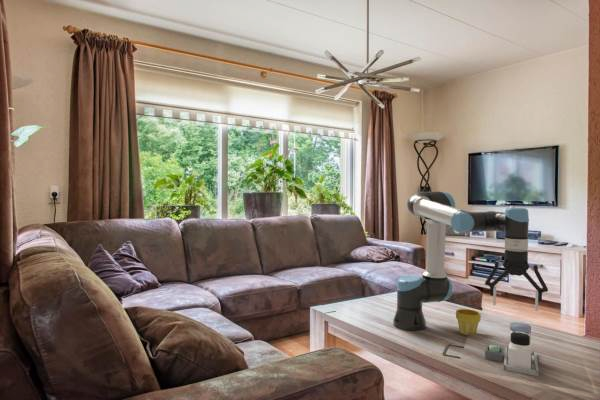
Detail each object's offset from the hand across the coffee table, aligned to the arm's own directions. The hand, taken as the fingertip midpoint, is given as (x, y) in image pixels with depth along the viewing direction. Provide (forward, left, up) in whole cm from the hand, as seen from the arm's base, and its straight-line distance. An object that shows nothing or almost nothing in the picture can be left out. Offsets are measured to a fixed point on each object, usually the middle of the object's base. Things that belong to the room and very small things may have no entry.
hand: (515, 307), depth 145 cm
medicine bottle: (+2, -4, -21) cm, 21 cm away
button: (-7, +1, -19) cm, 21 cm away
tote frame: (-19, +3, -22) cm, 29 cm away
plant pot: (-19, +28, -22) cm, 40 cm away
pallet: (-1, +1, -22) cm, 22 cm away
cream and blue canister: (+2, +6, -20) cm, 21 cm away
